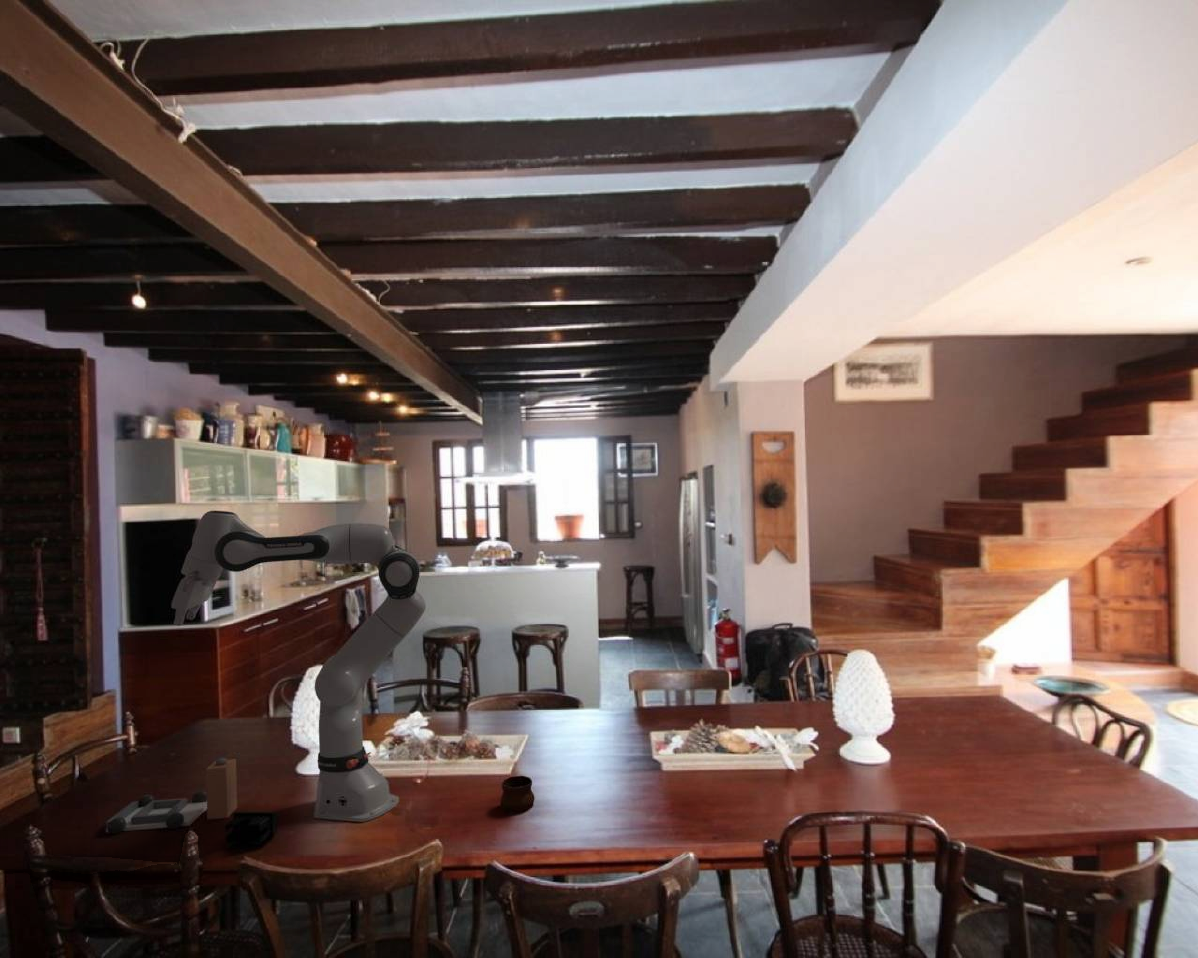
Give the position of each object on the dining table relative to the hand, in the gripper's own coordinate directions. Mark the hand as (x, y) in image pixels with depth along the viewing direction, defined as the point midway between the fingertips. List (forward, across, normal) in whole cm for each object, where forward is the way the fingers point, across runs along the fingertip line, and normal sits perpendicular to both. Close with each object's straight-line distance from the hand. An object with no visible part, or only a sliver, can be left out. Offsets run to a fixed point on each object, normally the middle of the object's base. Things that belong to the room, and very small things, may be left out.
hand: (183, 621), depth 179 cm
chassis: (+52, +7, -8) cm, 53 cm away
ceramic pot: (+23, -18, -95) cm, 99 cm away
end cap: (+44, -15, -34) cm, 57 cm away
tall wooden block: (+47, +5, -23) cm, 53 cm away
